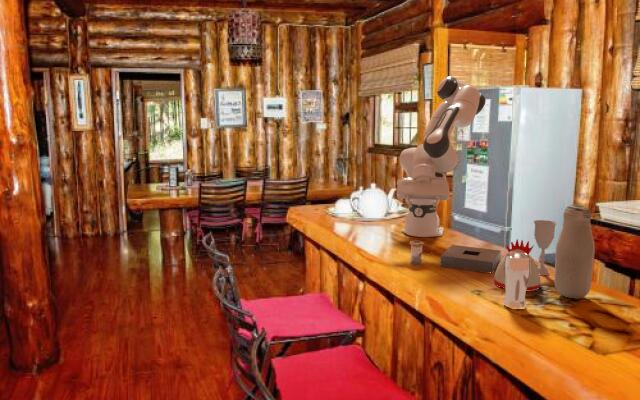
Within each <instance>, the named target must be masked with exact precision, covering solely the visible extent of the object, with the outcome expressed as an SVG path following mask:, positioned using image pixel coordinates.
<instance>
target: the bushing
mask: <svg viewBox="0 0 640 400" xmlns="http://www.w3.org/2000/svg"><path fill="white" fill-rule="evenodd" d="M409 244H410V264H411V265H415V266H420V265H422V263H423V261H422V259H423V245H425V243H424V241H422V240H415V239H414V240H410V241H409Z"/></svg>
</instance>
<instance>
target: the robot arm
mask: <svg viewBox="0 0 640 400" xmlns="http://www.w3.org/2000/svg"><path fill="white" fill-rule="evenodd" d="M436 94H437V96H438V97H439V98H440V99H441V100H444V101H442V102H440V104H439V105H438V106H437V108H435V111H434V112H433V114H432V116H431V118H430V120H429V122H428V124H427V126H426V127H425V129H424V132H423V136H424V141H423V143H421V144H419V145H418V146H416V147H409V148H405V149H403V150H402V151H401V152H400V155H399V157H398V158H399V165H400V166H401V168H402V169H403V170H404V171H405V173H406V175H407V177H401V178H398V179H397V181H396V186H397V189H396V197H397V198H398V199H400V200H401V199H403V200H404V199H405V201H406V203H407V206H408V207H407V208H408V213H406V214H405V222H404V228H402V229H401V233H404V234H406V235H408V236H412V237H419V238H431V237H443V234H444V227H443V226H442V227H441V224H440V217H439V215H438V213H437V209H438V205H439V203H440V202H441V201H448V200H449V199H450V195H451V193H450V185H449V182H448V181H447V174H446V173H449V172H452V171H453V170H455V169H456V168H457V166H458V164H459V162H460V158H459V155H458V154H457V152H456V150H455V149H454V147H453V145H452V142H451V140H450V136H451V134H452V132H453V131H454V128H459V129H462V128H463V129H464V128H466V127H468V126H470V125H471V124H472V123H473V121H474V120H475V118H476V115H478V114H479V113H481V111H483V109H484V107H485V105H486V102H487V101H486V97H485V95H483V93H481V92H479V90H478V88H476V87H475V86H472V85H469V84H466V83H465V82H463V81H461V80H459V79H457V78H456V77H454V76H451V75H450V76H449V75H448V76H445V77H444V79H442V80H441V81H440V82H439V84H438V87H437V90H436Z"/></svg>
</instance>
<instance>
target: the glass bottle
mask: <svg viewBox="0 0 640 400" xmlns="http://www.w3.org/2000/svg"><path fill="white" fill-rule="evenodd" d="M562 218H563V222H562V226H561V229H560V232H559V235H558V237H557V240H556V243H555V244H556V246H555V258H554V259H555V260H554V261H555V262H554V280H553V281H554V286H555V290H556V291H557V293H558V294H559V295H560V296H562V297H564V296H565V297H564V298H567V297H569V298H568V299H570V298H575V299H574V300H580V298H581V299H583V298H585V297H586V296H587V295H588V294H589V293H590V290H591V289H592V279H593V272H594V260H595V250H596V249H595V247H596V246H595V240H594V236H593V229H592V224H591V220H592V211H591V209H590V207H587V206H584V205H581V204H570V205H568V206H567V207H565V209H564V211H563V215H562Z"/></svg>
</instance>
